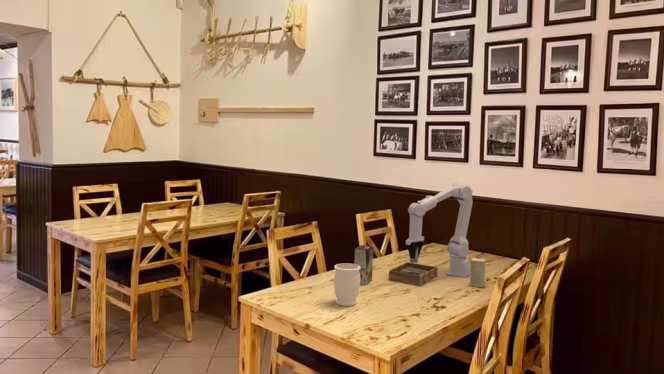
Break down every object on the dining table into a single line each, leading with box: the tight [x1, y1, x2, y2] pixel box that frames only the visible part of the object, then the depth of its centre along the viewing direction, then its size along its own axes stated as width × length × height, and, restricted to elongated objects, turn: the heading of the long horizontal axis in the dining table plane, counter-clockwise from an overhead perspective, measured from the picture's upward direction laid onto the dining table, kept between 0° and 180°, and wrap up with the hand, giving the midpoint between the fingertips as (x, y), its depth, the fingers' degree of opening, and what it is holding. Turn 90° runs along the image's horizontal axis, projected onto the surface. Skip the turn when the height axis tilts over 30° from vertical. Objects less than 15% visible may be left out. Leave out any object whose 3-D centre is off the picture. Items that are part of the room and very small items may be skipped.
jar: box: [333, 262, 361, 307], centre depth 212 cm, size 11×10×15 cm
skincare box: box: [469, 257, 486, 288], centre depth 242 cm, size 6×4×12 cm
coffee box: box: [353, 244, 374, 286], centre depth 242 cm, size 9×6×16 cm
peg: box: [409, 247, 419, 264], centre depth 250 cm, size 4×4×7 cm
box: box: [388, 261, 439, 287], centre depth 251 cm, size 20×16×4 cm
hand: (414, 257), depth 250 cm, fingers closed on peg, 4 cm apart
